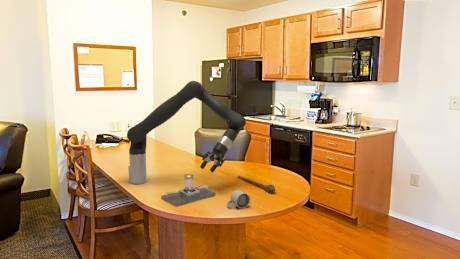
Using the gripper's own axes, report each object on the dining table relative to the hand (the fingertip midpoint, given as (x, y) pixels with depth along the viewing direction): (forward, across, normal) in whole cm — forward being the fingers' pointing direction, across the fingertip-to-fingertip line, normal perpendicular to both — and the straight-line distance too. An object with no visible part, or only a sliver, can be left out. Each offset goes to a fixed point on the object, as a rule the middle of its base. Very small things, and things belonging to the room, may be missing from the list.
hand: (206, 169), depth 178 cm
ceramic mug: (+9, +25, +9) cm, 28 cm away
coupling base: (+17, 0, +1) cm, 17 cm away
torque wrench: (-11, +8, +30) cm, 33 cm away
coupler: (+16, 0, 0) cm, 16 cm away
